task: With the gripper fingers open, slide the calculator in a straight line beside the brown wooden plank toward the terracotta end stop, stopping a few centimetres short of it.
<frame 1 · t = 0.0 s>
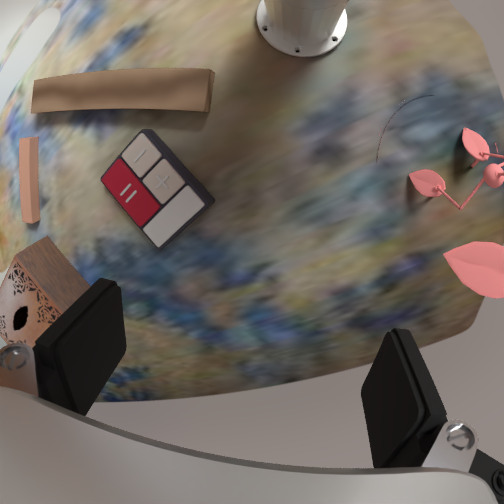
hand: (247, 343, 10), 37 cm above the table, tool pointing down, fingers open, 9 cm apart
brown wooden plank: (114, 90, 41), on the table
leafy plant stem: (433, 142, 40), on the table
end stop: (33, 178, 48), on the table
calculator: (159, 186, 47), on the table
tissue box cover: (47, 294, 58), on the table
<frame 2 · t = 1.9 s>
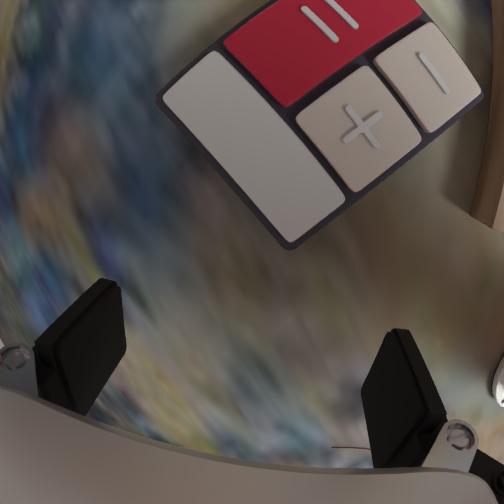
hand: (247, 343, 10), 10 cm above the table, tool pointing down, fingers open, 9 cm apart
leafy plant stem: (350, 481, 30), on the table
calculator: (326, 90, 17), on the table
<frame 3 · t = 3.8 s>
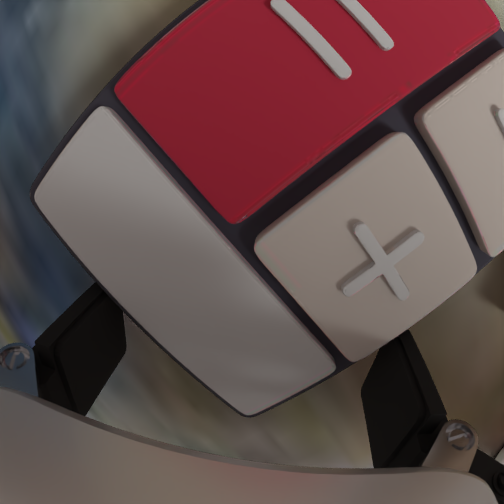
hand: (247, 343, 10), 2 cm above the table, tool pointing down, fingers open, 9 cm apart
calculator: (318, 151, 11), on the table, touching gripper
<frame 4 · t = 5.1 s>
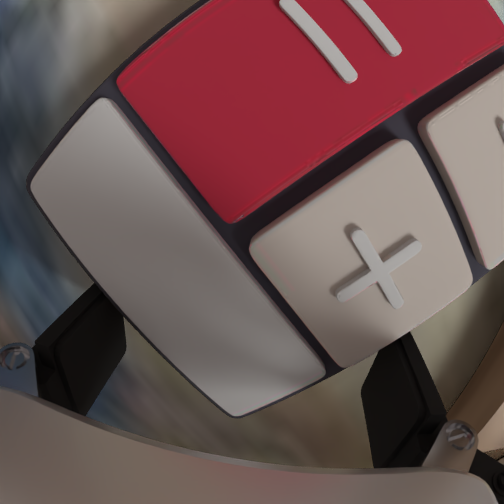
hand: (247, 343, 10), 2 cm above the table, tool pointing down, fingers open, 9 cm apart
calculator: (318, 154, 10), on the table, touching gripper
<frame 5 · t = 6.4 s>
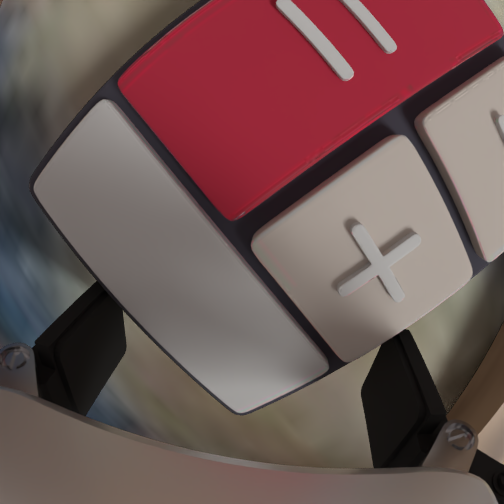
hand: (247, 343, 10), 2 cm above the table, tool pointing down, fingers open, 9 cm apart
calculator: (318, 152, 11), on the table
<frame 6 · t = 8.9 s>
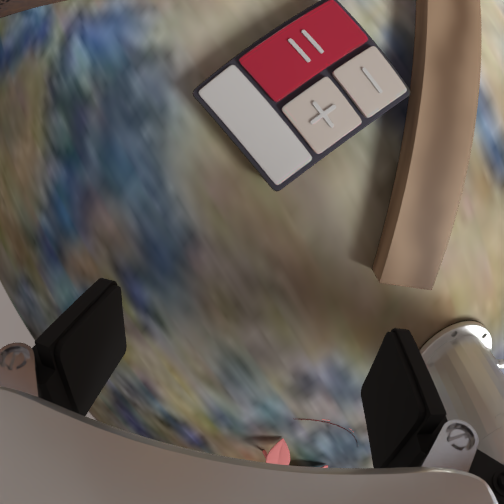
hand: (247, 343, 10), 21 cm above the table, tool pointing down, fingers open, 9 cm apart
brown wooden plank: (434, 120, 25), on the table
leafy plant stem: (313, 448, 44), on the table
calculator: (302, 90, 26), on the table
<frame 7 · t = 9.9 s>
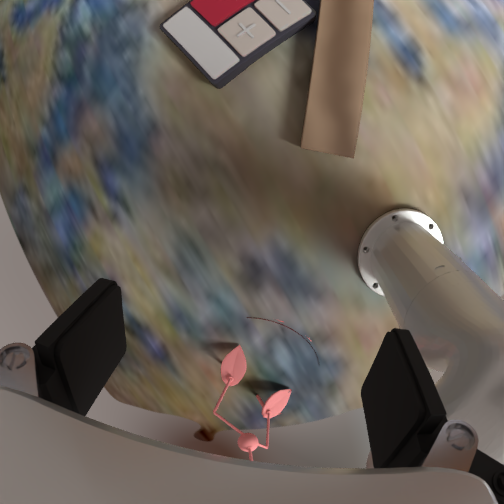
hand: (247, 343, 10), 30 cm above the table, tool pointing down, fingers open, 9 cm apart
brown wooden plank: (341, 29, 30), on the table
leafy plant stem: (273, 364, 49), on the table
calculator: (239, 24, 32), on the table
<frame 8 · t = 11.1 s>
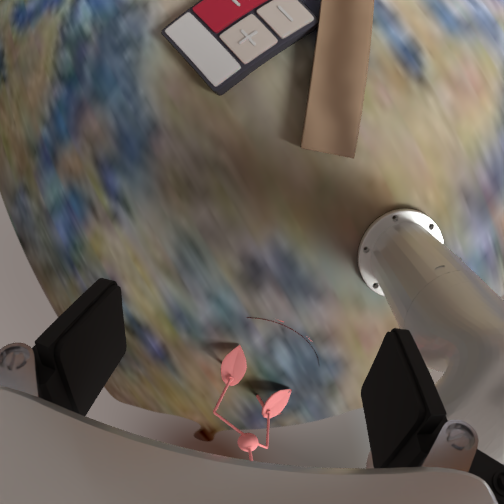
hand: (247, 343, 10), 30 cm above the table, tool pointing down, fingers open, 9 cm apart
brown wooden plank: (342, 29, 30), on the table
leafy plant stem: (273, 363, 49), on the table
calculator: (241, 30, 32), on the table
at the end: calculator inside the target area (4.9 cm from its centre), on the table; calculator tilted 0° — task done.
